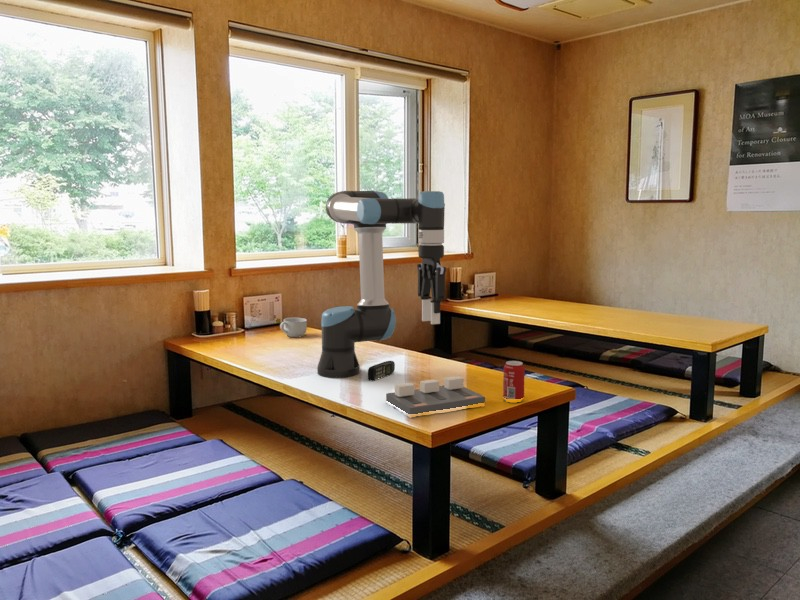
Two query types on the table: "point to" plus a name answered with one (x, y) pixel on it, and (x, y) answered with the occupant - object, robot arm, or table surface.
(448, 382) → the tab
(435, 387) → the tab
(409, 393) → the tab
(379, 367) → the mobile phone
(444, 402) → the switch plate
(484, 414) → the table surface
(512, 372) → the beverage can
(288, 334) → the teacup
